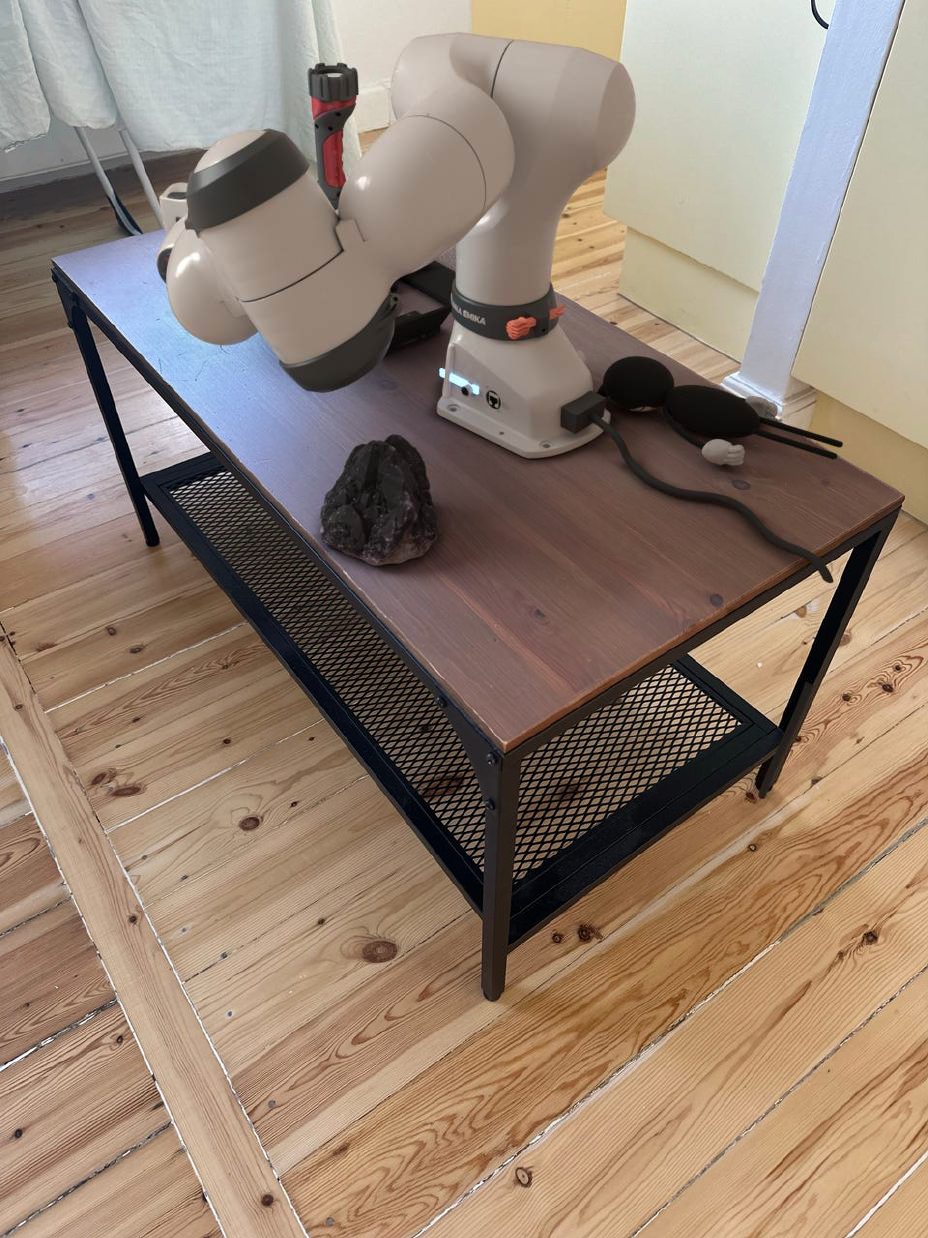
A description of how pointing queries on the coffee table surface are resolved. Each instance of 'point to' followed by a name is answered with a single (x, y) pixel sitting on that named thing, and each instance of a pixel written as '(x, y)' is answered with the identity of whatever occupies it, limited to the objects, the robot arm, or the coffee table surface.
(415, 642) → the coffee table surface
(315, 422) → the coffee table surface
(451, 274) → the smartphone
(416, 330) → the handheld gaming console
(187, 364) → the coffee table surface
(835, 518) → the coffee table surface
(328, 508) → the crystal cluster
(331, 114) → the flashlight
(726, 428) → the toy
